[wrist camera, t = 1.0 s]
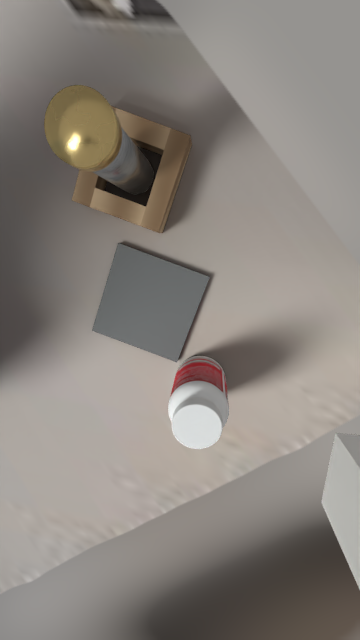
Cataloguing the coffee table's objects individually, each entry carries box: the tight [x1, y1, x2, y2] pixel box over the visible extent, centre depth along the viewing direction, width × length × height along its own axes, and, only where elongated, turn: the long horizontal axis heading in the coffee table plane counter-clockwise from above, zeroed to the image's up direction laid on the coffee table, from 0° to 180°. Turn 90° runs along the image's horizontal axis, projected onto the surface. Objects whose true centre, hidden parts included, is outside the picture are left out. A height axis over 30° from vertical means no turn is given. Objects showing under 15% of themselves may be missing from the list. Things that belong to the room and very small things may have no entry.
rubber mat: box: [92, 243, 209, 362], centre depth 39 cm, size 11×11×1 cm
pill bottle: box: [168, 356, 229, 449], centre depth 35 cm, size 6×6×11 cm
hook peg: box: [44, 85, 154, 194], centre depth 28 cm, size 5×5×16 cm
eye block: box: [72, 106, 192, 233], centre depth 34 cm, size 10×10×3 cm
